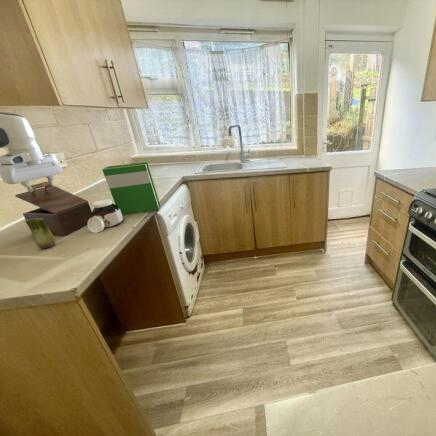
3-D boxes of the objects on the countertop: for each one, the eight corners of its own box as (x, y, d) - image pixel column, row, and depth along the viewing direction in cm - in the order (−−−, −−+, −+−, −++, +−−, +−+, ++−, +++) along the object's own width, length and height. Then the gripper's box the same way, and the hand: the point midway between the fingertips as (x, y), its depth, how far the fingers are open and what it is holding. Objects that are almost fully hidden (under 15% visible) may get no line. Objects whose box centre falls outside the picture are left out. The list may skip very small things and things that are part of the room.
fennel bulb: (60, 244, 97) (45, 216, 92) (46, 250, 92) (30, 222, 87) (49, 242, 98) (35, 215, 93) (35, 249, 94) (19, 221, 89)
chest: (33, 234, 106) (22, 213, 102) (65, 220, 119) (57, 201, 115) (66, 236, 103) (56, 214, 99) (95, 221, 117) (88, 202, 113)
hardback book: (160, 206, 133) (147, 162, 123) (159, 210, 126) (145, 164, 116) (123, 212, 127) (106, 166, 117) (120, 217, 121) (102, 169, 111)
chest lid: (15, 196, 99) (14, 185, 96) (52, 186, 112) (52, 176, 110) (56, 214, 99) (55, 204, 97) (88, 202, 113) (88, 193, 110)
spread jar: (126, 220, 117) (117, 197, 112) (120, 230, 107) (110, 205, 102) (96, 225, 113) (86, 201, 108) (87, 235, 103) (76, 210, 99)
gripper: (47, 152, 108) (59, 182, 114) (-11, 160, 90) (7, 195, 95) (59, 152, 108) (71, 182, 113) (3, 160, 89) (20, 196, 95)
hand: (41, 188), depth 104 cm, fingers closed on chest lid, 6 cm apart
